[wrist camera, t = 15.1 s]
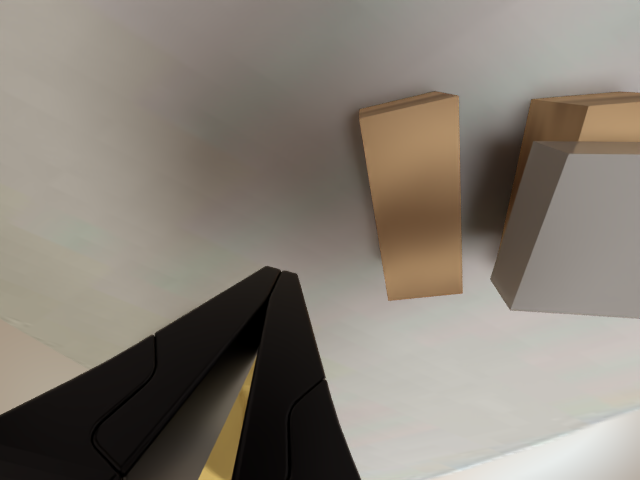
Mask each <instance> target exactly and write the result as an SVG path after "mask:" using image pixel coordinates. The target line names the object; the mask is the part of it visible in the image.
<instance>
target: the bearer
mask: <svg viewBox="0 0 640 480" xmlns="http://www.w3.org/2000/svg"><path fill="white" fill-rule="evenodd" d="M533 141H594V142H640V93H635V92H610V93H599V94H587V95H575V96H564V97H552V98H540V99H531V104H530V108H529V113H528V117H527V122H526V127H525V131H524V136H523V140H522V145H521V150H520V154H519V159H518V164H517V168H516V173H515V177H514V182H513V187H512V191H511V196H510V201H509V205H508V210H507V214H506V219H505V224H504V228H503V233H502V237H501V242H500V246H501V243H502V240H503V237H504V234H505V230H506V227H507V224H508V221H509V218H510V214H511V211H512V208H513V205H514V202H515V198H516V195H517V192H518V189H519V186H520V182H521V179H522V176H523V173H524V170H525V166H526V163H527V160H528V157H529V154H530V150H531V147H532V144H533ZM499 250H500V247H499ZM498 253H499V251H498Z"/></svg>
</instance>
